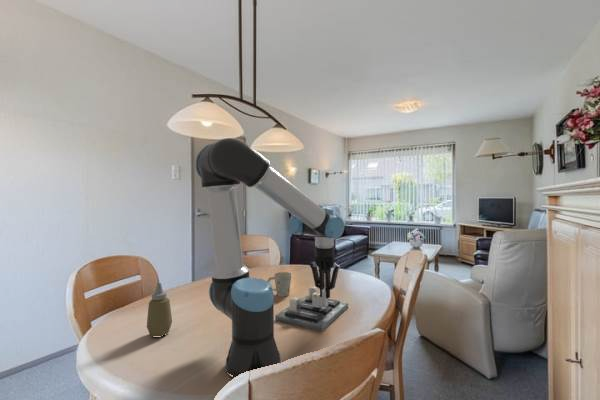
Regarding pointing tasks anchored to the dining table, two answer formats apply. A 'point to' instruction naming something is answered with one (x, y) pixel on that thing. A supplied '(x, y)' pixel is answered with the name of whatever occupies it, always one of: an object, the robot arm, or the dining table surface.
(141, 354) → the dining table surface
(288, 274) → the mug
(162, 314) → the squeeze bottle
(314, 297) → the block
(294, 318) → the panel
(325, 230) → the robot arm
